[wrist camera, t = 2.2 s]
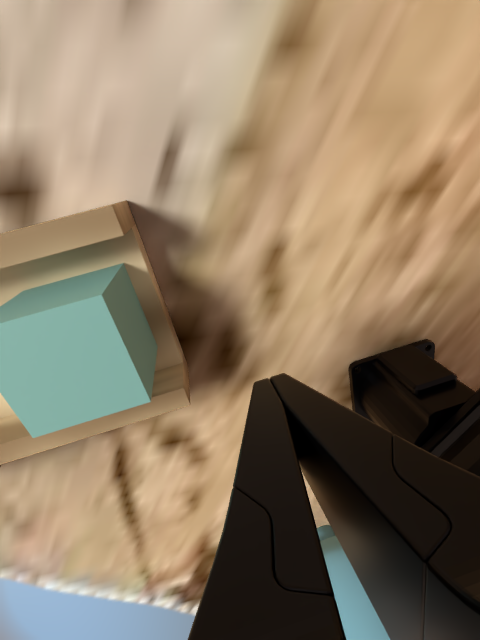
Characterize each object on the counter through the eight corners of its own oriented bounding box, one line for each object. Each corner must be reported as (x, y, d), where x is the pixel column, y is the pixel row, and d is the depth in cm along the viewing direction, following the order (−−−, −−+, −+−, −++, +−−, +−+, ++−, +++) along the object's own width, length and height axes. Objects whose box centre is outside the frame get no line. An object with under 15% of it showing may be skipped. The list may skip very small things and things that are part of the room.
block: (157, 346, 18) (150, 401, 13) (70, 372, 17) (32, 438, 13) (123, 262, 16) (101, 294, 11) (23, 290, 15) (-42, 335, 11)
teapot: (365, 589, 36) (438, 748, 26) (250, 612, 34) (281, 798, 23) (399, 497, 30) (511, 655, 20) (263, 515, 28) (312, 708, 18)
